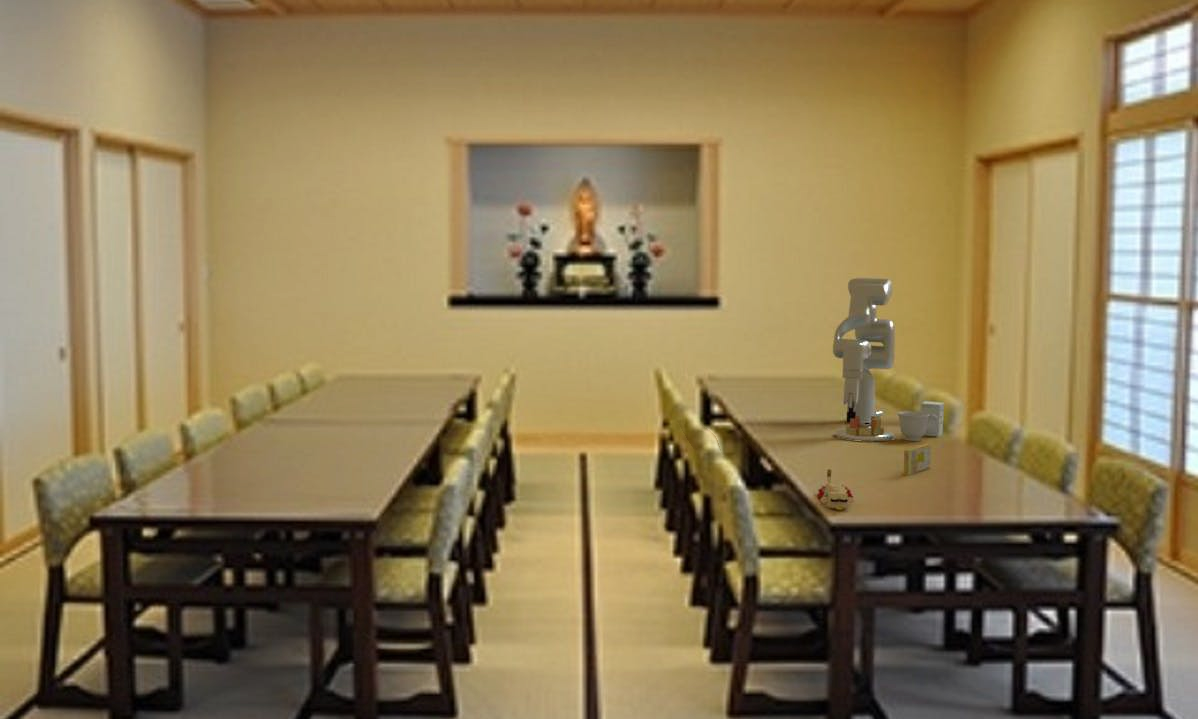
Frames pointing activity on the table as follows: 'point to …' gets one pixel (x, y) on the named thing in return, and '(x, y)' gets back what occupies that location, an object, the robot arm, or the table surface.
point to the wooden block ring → (874, 430)
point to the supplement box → (933, 409)
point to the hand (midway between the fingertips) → (850, 422)
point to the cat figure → (834, 495)
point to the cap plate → (883, 437)
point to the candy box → (916, 459)
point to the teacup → (914, 424)
